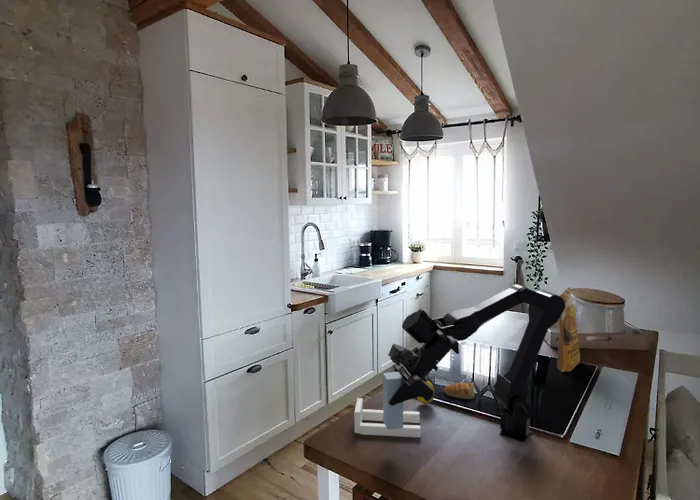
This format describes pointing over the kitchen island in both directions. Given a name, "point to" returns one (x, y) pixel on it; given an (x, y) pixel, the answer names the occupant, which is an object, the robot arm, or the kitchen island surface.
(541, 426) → the kitchen island surface
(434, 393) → the lemon
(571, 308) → the pancake mix bag
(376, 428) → the track
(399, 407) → the blue gray block
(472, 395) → the pastry
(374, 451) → the kitchen island surface
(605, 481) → the kitchen island surface
